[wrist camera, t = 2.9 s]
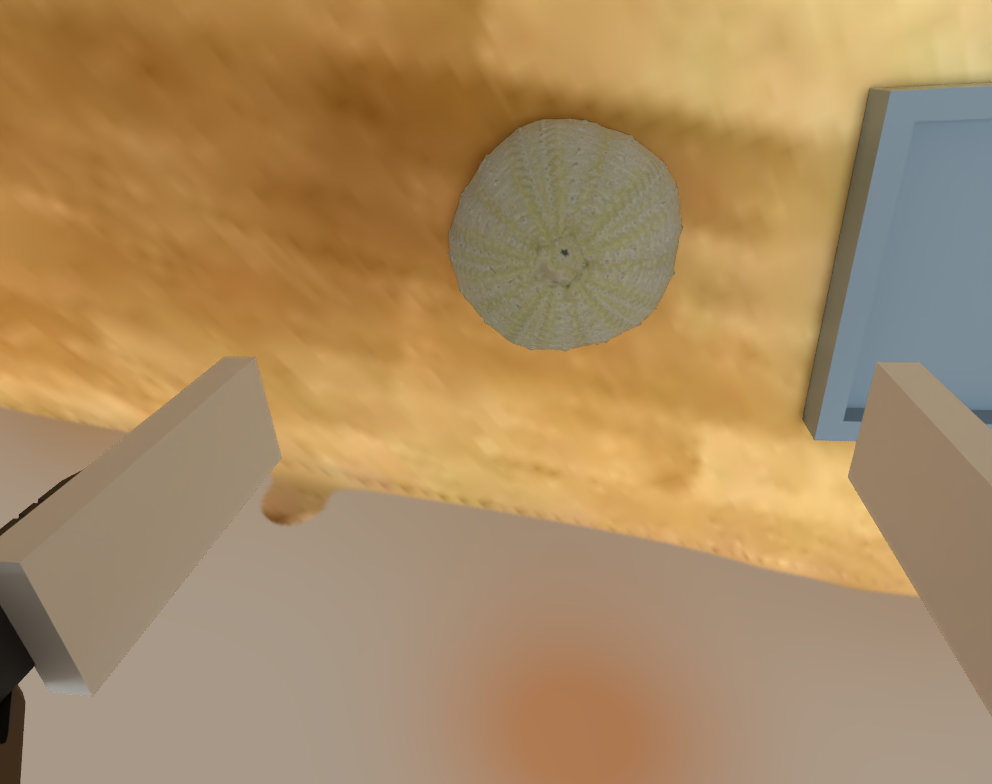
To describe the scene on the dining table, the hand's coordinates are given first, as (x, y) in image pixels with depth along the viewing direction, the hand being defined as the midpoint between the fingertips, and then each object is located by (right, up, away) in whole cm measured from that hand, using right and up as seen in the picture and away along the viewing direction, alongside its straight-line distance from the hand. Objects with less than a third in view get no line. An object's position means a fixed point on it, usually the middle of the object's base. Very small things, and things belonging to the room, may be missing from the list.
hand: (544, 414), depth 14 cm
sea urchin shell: (+2, +8, +13) cm, 15 cm away
